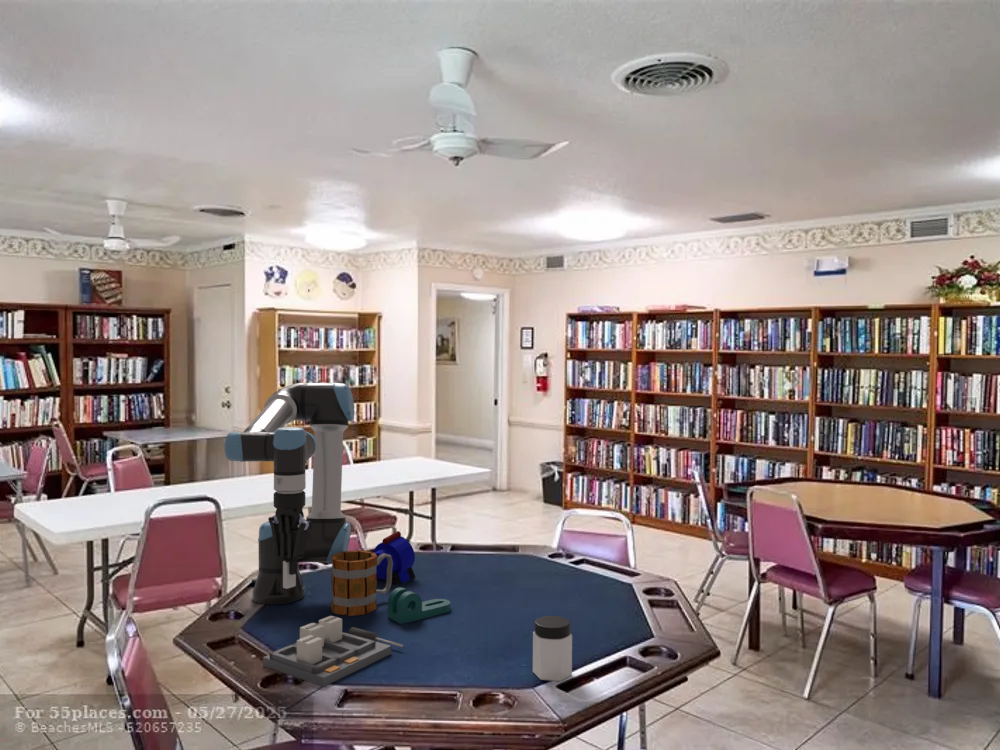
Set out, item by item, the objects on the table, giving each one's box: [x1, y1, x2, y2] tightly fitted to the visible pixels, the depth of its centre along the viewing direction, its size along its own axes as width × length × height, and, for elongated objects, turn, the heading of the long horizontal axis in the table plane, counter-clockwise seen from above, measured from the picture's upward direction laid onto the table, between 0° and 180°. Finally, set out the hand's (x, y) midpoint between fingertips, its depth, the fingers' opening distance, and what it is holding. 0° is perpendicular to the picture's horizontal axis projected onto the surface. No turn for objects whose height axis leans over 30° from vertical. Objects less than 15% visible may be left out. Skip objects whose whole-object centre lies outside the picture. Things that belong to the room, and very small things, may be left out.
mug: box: [330, 549, 393, 617], centre depth 216 cm, size 20×14×15 cm
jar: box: [532, 615, 573, 682], centre depth 170 cm, size 9×8×12 cm
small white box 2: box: [318, 615, 343, 642], centre depth 184 cm, size 4×4×5 cm
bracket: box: [387, 586, 451, 625], centre depth 210 cm, size 18×7×8 cm, turn 129°
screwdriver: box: [348, 626, 404, 648], centre depth 188 cm, size 17×2×2 cm, turn 57°
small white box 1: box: [296, 635, 322, 664], centre depth 171 cm, size 4×4×5 cm
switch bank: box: [262, 631, 392, 688], centre depth 177 cm, size 20×22×3 cm
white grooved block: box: [299, 622, 324, 647], centre depth 179 cm, size 4×4×5 cm
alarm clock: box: [373, 530, 416, 586], centre depth 243 cm, size 12×12×15 cm
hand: (289, 586), depth 183 cm, fingers closed
